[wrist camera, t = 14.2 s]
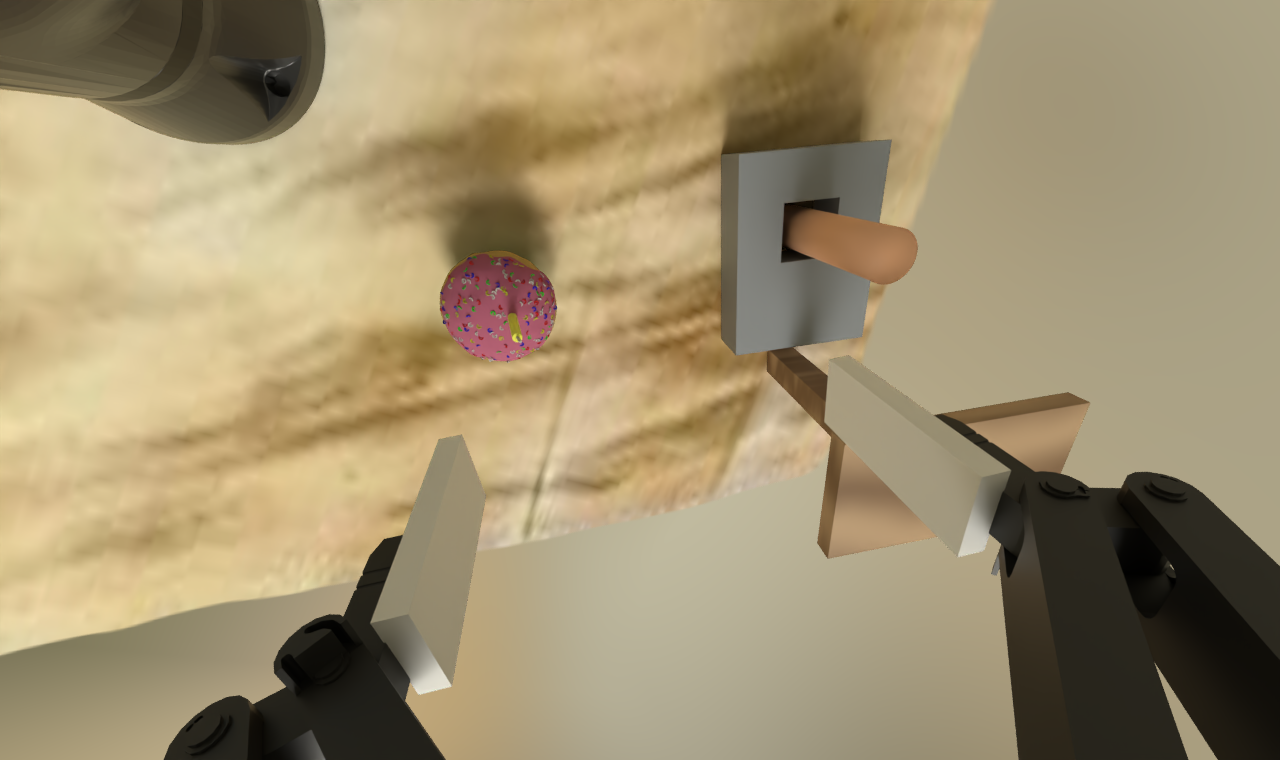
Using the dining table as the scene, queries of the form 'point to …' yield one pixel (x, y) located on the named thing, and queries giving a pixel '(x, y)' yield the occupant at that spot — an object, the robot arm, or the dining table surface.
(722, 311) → the socket block
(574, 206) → the dining table surface
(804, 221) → the peg
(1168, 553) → the robot arm
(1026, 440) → the wooden t-shaped stand
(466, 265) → the cupcake
